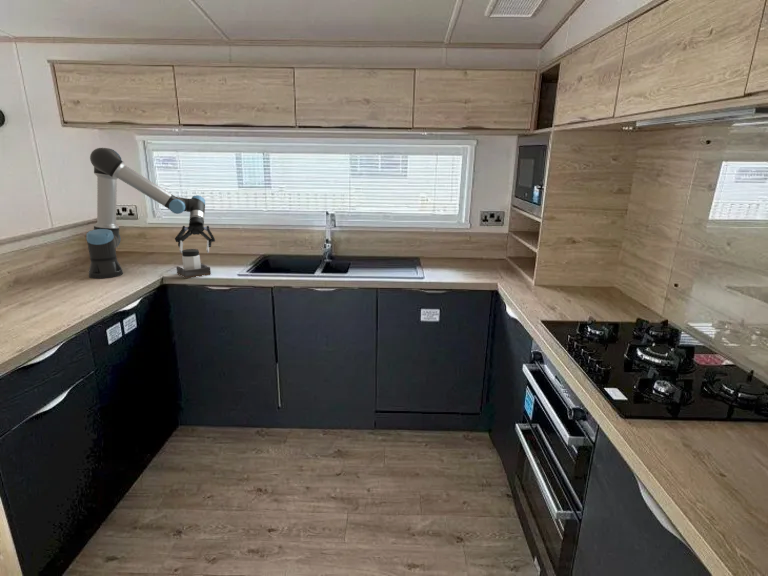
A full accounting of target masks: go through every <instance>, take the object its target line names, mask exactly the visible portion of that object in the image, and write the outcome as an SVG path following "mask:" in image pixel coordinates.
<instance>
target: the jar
mask: <svg viewBox="0 0 768 576" xmlns="http://www.w3.org/2000/svg"><path fill="white" fill-rule="evenodd" d="M200 255H201V254H200V251H199V249H197V248H187V249H186V248H185V249H182V253H181V257H182V258H181V259H182V260H181V261H182V268H183V269H185V270H193V269H200V268H201V256H200Z"/></svg>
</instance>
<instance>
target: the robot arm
mask: <svg viewBox="0 0 768 576" xmlns="http://www.w3.org/2000/svg"><path fill="white" fill-rule="evenodd" d="M89 160H90V163H91V165H92V166H93V173H94V175H95V176H96V177H97V181H96V182H97V184H96V185H97V187H96V189H97V195H96V196H97V197H96V198H97V200H96V203H97V205H96V206H97V207H96V213H97V214H96V215H97V216H96V219H97V220H96V221H97V222H96V223H94V224H93V229H92V230H89V231H88V232H86V233H85V235H86V236H85V237H86V243H87V248H88V249H87V250H88V253H89V259H90V265H89V268H88V276H89V278H90V279H109V278H115V277H118V276H119V277H120V276H121V275H123V273H124V271H123V268H122V266H121V264H120V263H119V261H118V257H117V252H116V248H118V247H119V245H120V243H121V235H120V226H119V225H118V224H117V191H118V190H117V185H118V183H117V182H118V181H117V180H119V181H122V182H123V183H126V184H127V185H129V186H130V187H132V188H134V189H135V190H136V191H138V192H140V193H142V194H143V195H145V196H147V197H148V198H150V199H152V200H153V201H155V202H157V203H159V204H160V205H161V206H163V207H164V208H166V209H167V210H170V212H171V213H173V214H177V215H178V214H179V215H180V214H182V213H183V212H185V213H186V212H187V213H189V221H188V226H185V225H183V226H182V227H181V230H180V231H179V232H178V233H177V235H176V236H175V238H174V240H175V242H176V243H177V245H178V248H179V249H178V250H179V252H180V254H182V251H183V250H184V249H183V247H184V241H185V240H186V239H188V238H189V237H190V236H192V235H193V236H194V235H197V236H199V235H201V236H203V238H205V240H206V252H207V254H210V248H212V243H213V242H216V239H215V236H214V235H213V233H212V232H211V230H210V229H211V228H210V226H209V225H206V226H205V211H206V210H205V209H206V200H205V198H204V197H203V196H201V195H197V194H196V195H193V196H192V197H191V198H187V197H179V196H175V195H173V193H170V192H169V191H167V190H166V189H164V188H163V187H161V186H160V185H158V184H157V183H155V182H153V181H151V180H150V179H148V178H146V177H145V176H144V175H142V174H140V173H138V172H137V171H135V170H133V169H132V168H131V167H129V166H127V165H126V164H125V162H124V161H123V160H122V157H121V156H120V154H119V153H118V152H117V151H116V150H115V149H112V148H109V147H97V148H95V149H93V150H92V151H91V153H90V156H89ZM205 231H206V232H207V234H206V233H205Z"/></svg>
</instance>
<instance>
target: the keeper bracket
mask: <svg viewBox="0 0 768 576" xmlns="http://www.w3.org/2000/svg"><path fill="white" fill-rule="evenodd" d="M200 263H201V262H200ZM211 271H212V270H211V267H210V266H208V265H206V264H203V263H201V268H200V269H193V270H185V269H183V267H180V266H176V274H177V273H178V274H177V275H179V274H180V275H182V276H184V277H185V278H184V277H183V278H184V279H191V277H193V278H197V277H196V276H199V277H203V276H202V275H205V276H210V274H211V275H212V272H211ZM180 275H179V276H180ZM182 276H181V277H182Z"/></svg>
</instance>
